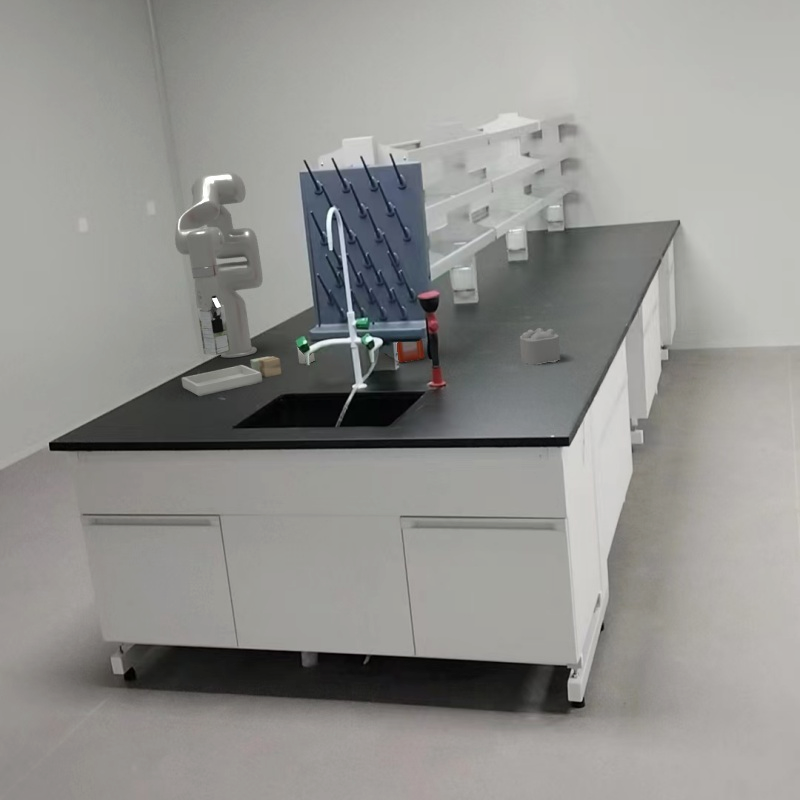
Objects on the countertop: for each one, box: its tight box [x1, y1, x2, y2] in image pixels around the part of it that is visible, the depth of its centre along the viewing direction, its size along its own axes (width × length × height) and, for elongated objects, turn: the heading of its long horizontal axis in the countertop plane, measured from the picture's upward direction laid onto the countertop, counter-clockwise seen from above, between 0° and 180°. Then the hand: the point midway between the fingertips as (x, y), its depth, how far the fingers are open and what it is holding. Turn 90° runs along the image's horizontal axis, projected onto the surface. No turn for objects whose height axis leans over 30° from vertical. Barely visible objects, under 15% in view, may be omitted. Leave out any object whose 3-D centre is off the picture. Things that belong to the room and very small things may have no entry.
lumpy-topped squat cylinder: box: [519, 327, 561, 364], centre depth 302 cm, size 10×13×9 cm
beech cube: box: [258, 355, 282, 378], centre depth 321 cm, size 5×5×5 cm
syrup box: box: [197, 305, 230, 356], centre depth 310 cm, size 6×6×14 cm
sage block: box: [249, 356, 270, 372], centre depth 327 cm, size 4×6×4 cm, turn 114°
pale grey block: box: [296, 346, 316, 365], centre depth 333 cm, size 5×5×6 cm
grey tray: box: [181, 364, 263, 397], centre depth 314 cm, size 16×20×3 cm
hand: (214, 330), depth 310 cm, fingers closed on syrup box, 7 cm apart
